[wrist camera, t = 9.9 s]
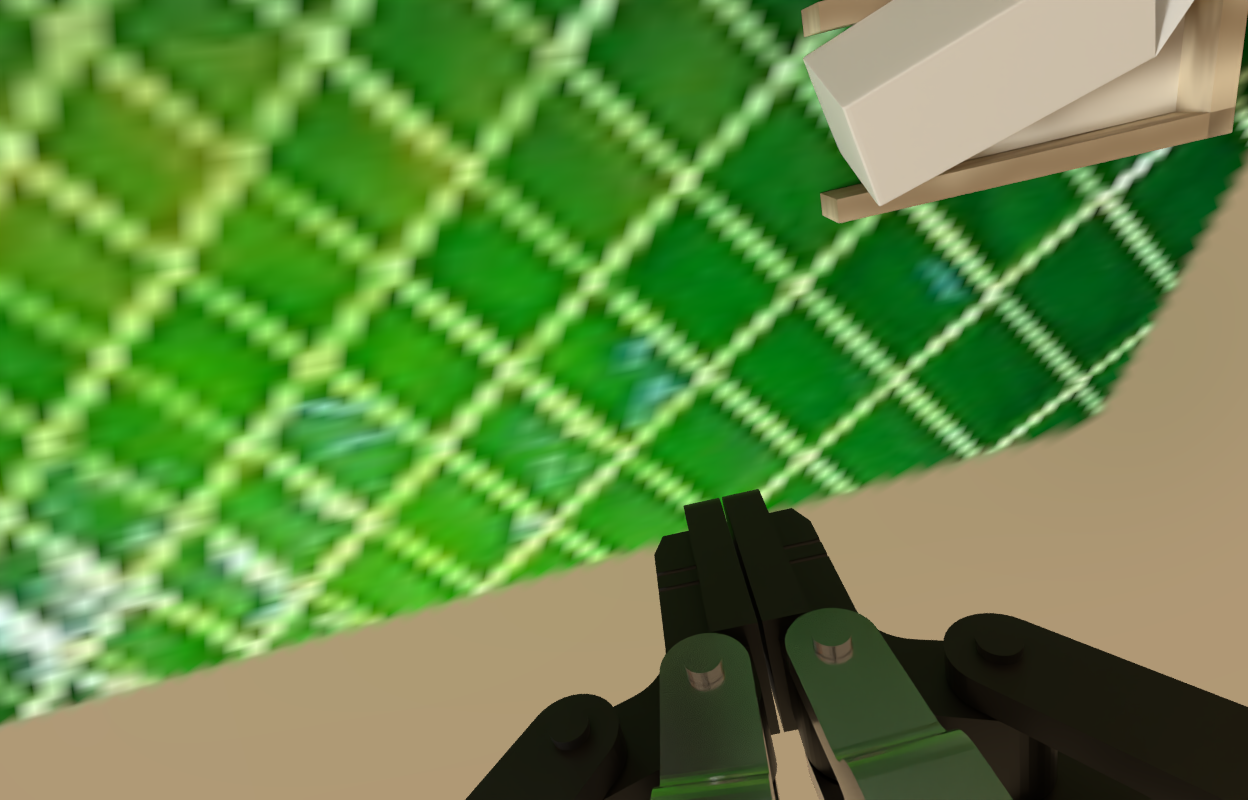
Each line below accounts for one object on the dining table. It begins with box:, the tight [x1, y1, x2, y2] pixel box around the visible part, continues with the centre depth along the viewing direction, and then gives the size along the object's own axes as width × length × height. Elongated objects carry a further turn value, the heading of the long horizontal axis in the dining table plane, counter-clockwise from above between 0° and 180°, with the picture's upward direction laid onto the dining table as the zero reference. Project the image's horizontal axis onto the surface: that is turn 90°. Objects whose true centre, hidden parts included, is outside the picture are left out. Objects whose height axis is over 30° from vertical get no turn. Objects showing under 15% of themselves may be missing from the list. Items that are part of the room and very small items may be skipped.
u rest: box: [801, 0, 1248, 223], centre depth 42 cm, size 13×24×4 cm, turn 103°
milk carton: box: [803, 0, 1194, 206], centre depth 37 cm, size 7×7×19 cm
